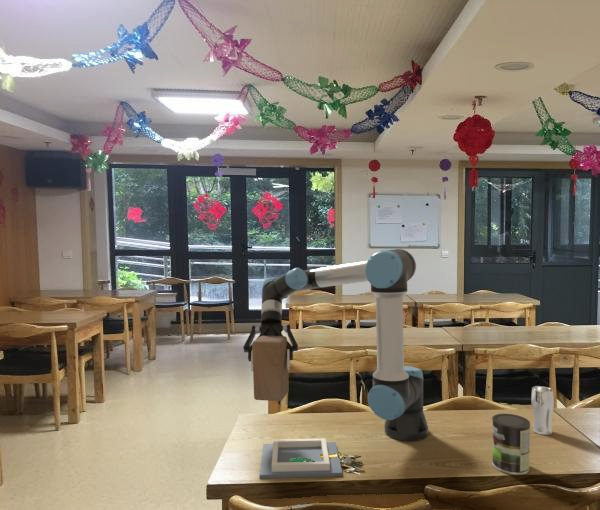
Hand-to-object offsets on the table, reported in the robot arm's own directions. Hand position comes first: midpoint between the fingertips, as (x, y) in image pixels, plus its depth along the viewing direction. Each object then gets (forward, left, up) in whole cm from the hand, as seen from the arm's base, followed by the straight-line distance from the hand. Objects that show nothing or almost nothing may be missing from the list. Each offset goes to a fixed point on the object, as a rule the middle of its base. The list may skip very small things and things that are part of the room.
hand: (270, 368), depth 155 cm
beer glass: (-92, -20, -26) cm, 98 cm away
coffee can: (-74, +7, -26) cm, 79 cm away
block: (0, -3, -10) cm, 11 cm away
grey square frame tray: (-11, +11, -25) cm, 30 cm away
